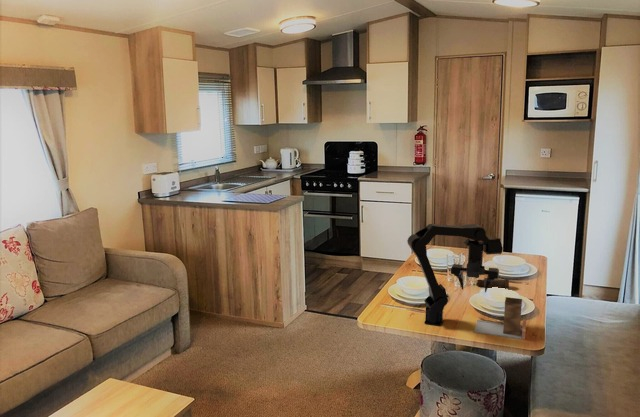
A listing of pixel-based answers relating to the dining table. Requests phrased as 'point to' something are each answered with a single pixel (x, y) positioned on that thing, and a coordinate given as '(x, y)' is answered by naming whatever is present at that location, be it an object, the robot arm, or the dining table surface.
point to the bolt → (494, 283)
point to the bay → (498, 329)
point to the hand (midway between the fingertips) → (473, 290)
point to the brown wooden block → (512, 316)
